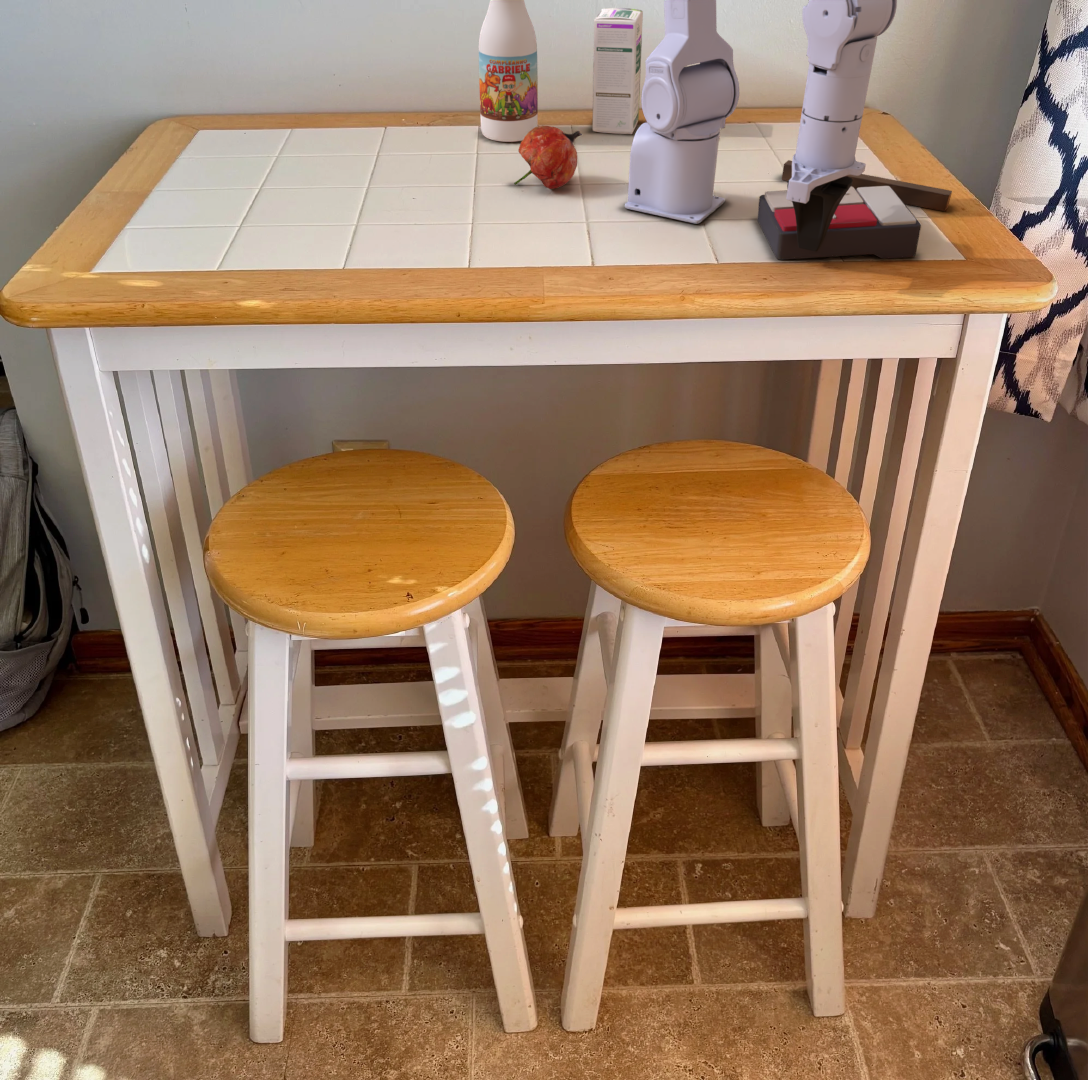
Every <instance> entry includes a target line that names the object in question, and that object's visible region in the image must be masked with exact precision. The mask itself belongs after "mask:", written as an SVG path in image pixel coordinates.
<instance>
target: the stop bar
mask: <svg viewBox="0 0 1088 1080" xmlns="http://www.w3.org/2000/svg"><path fill="white" fill-rule="evenodd" d="M847 176H848V177H850V178H852V179H853V183H852V185H851V186H852V187H853V188H854V189H857V188H860V187H875V186H889V187H890V188H892V189H893V190H894V191H895V193H896V194H897V195H898V196H899V198H900V199H901V200H902V201H903V203H904V204H905V205H910V206H914V207H918V208H919V207H920V208H923V209H924V208H925V209H929V210H935V211H940V212H946V211H947V209H949V206H950V201H951V197H952V193H953V190H951V189H944V188H940V187H934V186H930V185H929V186H928V185H923V184H918V183H913V182H908V181H901V180H896V179H890V178H885V177H880V176H876V175H871V174H864V173H862V174H861V175H858V176H856V175H847ZM790 178H792V160H790V159H788V160H786V161H785V162H784V163H783V168H782V173H781V180H782V181H785V182H786V181H787V182H788V180H789V179H790Z"/></svg>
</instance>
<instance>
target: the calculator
mask: <svg viewBox="0 0 1088 1080" xmlns="http://www.w3.org/2000/svg"><path fill="white" fill-rule="evenodd" d="M758 197H759V199H758V208H757V222H758V225H759V227H760V228H761V231H762V233H763V234H764V236H765V238H766V240H767V243H768V245H769V246H770V249H771V250H772V253H773V254H774V255H773V256H775V258H776V259H777V260H780V261H781V260H797V259H798V260H799V259H813V258H814V259H815V258H829V257H830V258H831V257H847V256H861V255H863V256H865V255H874V256H876V257H878V258H880V259H882V260H884V259H899V258H900V259H901V258H914V257H915V256H916V255H917V249H918V244H919V239H920V234H921V229H922V223H921V222H920V221H919V220H918V219H917V218H916V216H915V215H914V213H912V211H911V210H910V209H909V207H908V206H907V204H904V203H903V201H902V200H901V199H900V198H899V196H898V195H897V194H896V193H895V191H894V190H893V189H892V188H890V187H889V186H875V187H860V188H857V189H854V188H853V187H852V186H851V187H850V188H849V190H848V191H847V192H846V194H845V195H844V197H843V198H842V200H841V202H840V204H839V205H838V207H837V209H836V211H835V213H834V216H833V218H832V221H831V223H830V226H829V228H828V231H827V234H826V236H825V239H824V241H823V243H822V245H821V247H820V249H819V250H818V251H816V252H815V251H811V250H806V249H802V248H799V247H798V240H797V227H796V216H795V210H794V207H793V203H792V201H790V200H787V199H786V197H787V189H785V190H769V191H765V192H764V194H761V195H759V196H758Z"/></svg>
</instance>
